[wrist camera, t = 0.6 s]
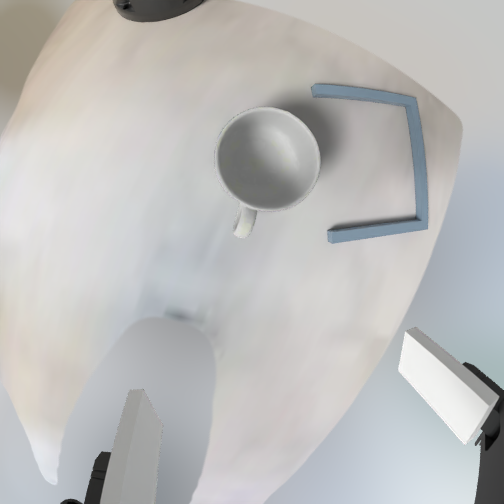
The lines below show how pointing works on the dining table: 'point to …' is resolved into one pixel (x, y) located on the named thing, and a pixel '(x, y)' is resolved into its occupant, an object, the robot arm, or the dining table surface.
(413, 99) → the tray frame
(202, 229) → the dining table surface
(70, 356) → the dining table surface
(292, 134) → the teacup
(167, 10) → the robot arm
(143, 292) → the dining table surface
